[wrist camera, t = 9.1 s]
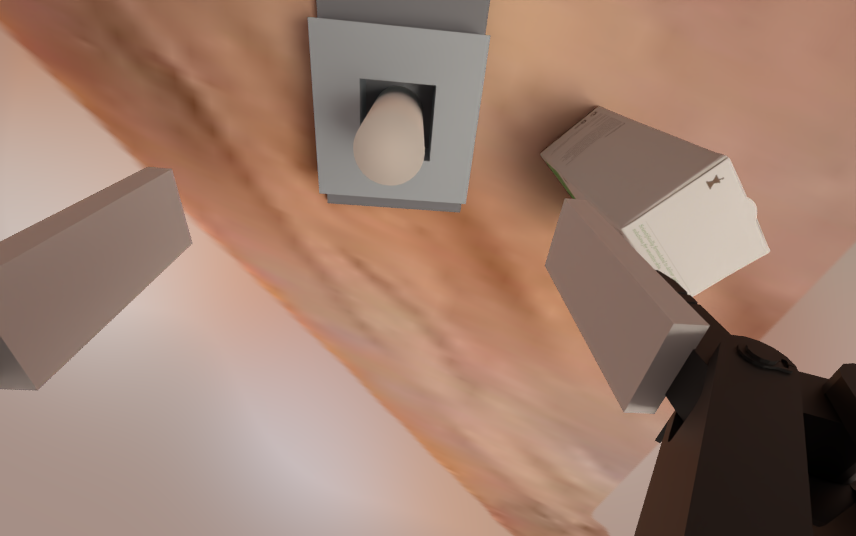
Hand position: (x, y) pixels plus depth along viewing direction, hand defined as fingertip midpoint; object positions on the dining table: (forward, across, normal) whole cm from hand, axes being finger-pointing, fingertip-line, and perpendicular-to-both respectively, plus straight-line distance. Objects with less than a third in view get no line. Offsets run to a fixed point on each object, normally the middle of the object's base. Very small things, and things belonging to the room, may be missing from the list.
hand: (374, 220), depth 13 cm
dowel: (+21, 0, 0) cm, 21 cm away
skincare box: (+23, +18, -3) cm, 29 cm away
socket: (+22, 0, 0) cm, 22 cm away
